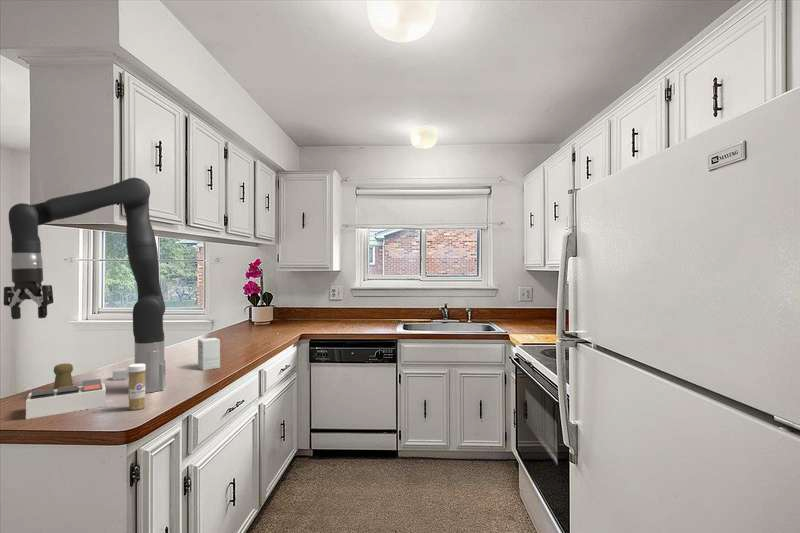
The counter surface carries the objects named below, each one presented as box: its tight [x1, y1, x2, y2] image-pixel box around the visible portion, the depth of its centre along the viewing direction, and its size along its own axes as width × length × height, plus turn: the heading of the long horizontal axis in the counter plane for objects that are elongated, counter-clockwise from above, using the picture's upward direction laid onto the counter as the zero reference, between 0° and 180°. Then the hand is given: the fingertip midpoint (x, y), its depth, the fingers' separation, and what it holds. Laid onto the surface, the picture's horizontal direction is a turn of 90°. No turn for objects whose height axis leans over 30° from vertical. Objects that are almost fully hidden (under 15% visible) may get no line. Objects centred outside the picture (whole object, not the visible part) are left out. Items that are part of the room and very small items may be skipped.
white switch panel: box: [25, 382, 107, 420], centre depth 134 cm, size 19×10×5 cm, turn 126°
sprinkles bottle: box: [127, 363, 146, 411], centre depth 134 cm, size 5×5×14 cm
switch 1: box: [31, 388, 54, 396], centre depth 131 cm, size 5×7×1 cm
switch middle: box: [58, 384, 79, 393], centre depth 135 cm, size 5×7×1 cm
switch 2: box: [82, 378, 102, 392], centre depth 138 cm, size 5×7×1 cm
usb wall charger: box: [112, 367, 129, 381], centre depth 171 cm, size 4×7×4 cm, turn 103°
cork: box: [52, 363, 74, 390], centre depth 147 cm, size 6×6×11 cm
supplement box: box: [197, 337, 221, 371], centre depth 189 cm, size 7×7×13 cm
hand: (29, 318), depth 137 cm, fingers open, 8 cm apart
